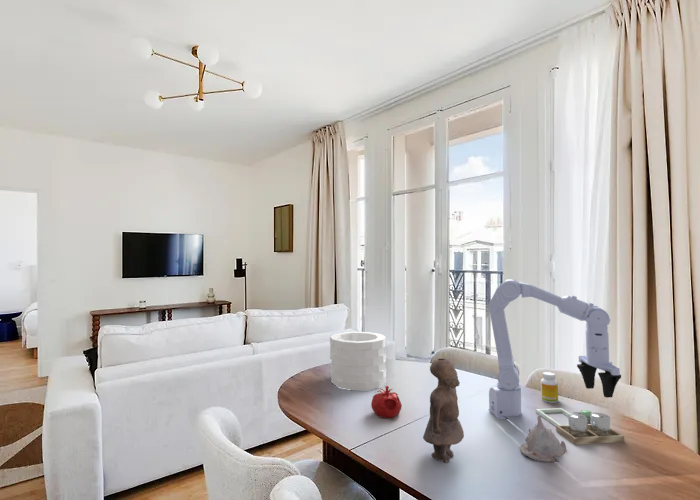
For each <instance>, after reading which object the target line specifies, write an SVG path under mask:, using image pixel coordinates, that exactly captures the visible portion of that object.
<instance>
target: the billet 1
mask: <svg viewBox="0 0 700 500" xmlns="http://www.w3.org/2000/svg"><path fill="white" fill-rule="evenodd" d="M567 418H568V419H567V420H568V425H569V433H570V434H571V435H572V436H574V437H588V422H587V417H586V416H584V415H582V414H576V413H571V414H568V417H567Z"/></svg>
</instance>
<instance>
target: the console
mask: <svg viewBox="0 0 700 500" xmlns="http://www.w3.org/2000/svg"><path fill="white" fill-rule="evenodd" d="M573 413H576V414H581V411H574V412H573ZM587 422H588V424H591V417H588V418H587Z"/></svg>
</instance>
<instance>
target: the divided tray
mask: <svg viewBox="0 0 700 500" xmlns="http://www.w3.org/2000/svg"><path fill="white" fill-rule="evenodd" d="M555 431H556V432H557V433H558V434H560V435H561V436H562V437H564V438H565V439H566V440H568V441H569V442H571V443H572V444H573V445H587V444H589V445H590V444H606V443H607V444H609V443H611V444H612V443H624V442H625V435H623V433H622V434H621V433H620V432H618V431H616V430H614V429H613V428H611V427H610V434H611V436H598V435H596V434H595V433H593V432H591V424H588V437H574V436H572V435H571V434H570V433H569V424H561V425H559V426H555Z"/></svg>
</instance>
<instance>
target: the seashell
mask: <svg viewBox="0 0 700 500" xmlns="http://www.w3.org/2000/svg"><path fill="white" fill-rule="evenodd" d="M525 442H526V443H521V444H520V446H519V449H520V452H521V453H522V454H523V455H524V456H526V457H528V458H530V459H532V460H535V461H537V462H543V463H560V461H559V460H558V459H556V457H555V456H560V457H561V456H562V455H564V454H565V453H566V451H567V445H566V443H565V441H563V440H561V442H560V440H559V439H558V437H557V436H556V435H555V433H554V432H552V428H547V427H546V426H545V425H544V423H543V421H542V416H540V415H538V416H537V423H535V425H534V427H532V428H528V434H527V436H526V438H525Z"/></svg>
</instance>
